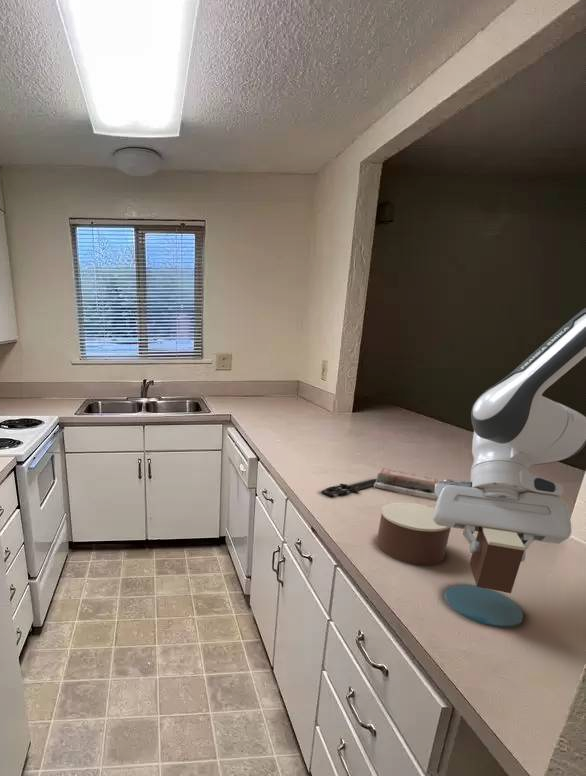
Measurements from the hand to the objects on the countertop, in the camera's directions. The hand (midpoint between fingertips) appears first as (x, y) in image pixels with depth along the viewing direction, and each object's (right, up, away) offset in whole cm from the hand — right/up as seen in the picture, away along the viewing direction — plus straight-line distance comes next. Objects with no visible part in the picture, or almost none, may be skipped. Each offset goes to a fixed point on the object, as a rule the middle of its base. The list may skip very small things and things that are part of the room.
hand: (496, 556), depth 76 cm
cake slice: (0, -4, +2) cm, 5 cm away
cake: (-3, -3, +24) cm, 25 cm away
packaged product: (+15, +10, +58) cm, 61 cm away
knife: (-1, +10, +60) cm, 60 cm away
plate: (0, -10, +4) cm, 11 cm away
